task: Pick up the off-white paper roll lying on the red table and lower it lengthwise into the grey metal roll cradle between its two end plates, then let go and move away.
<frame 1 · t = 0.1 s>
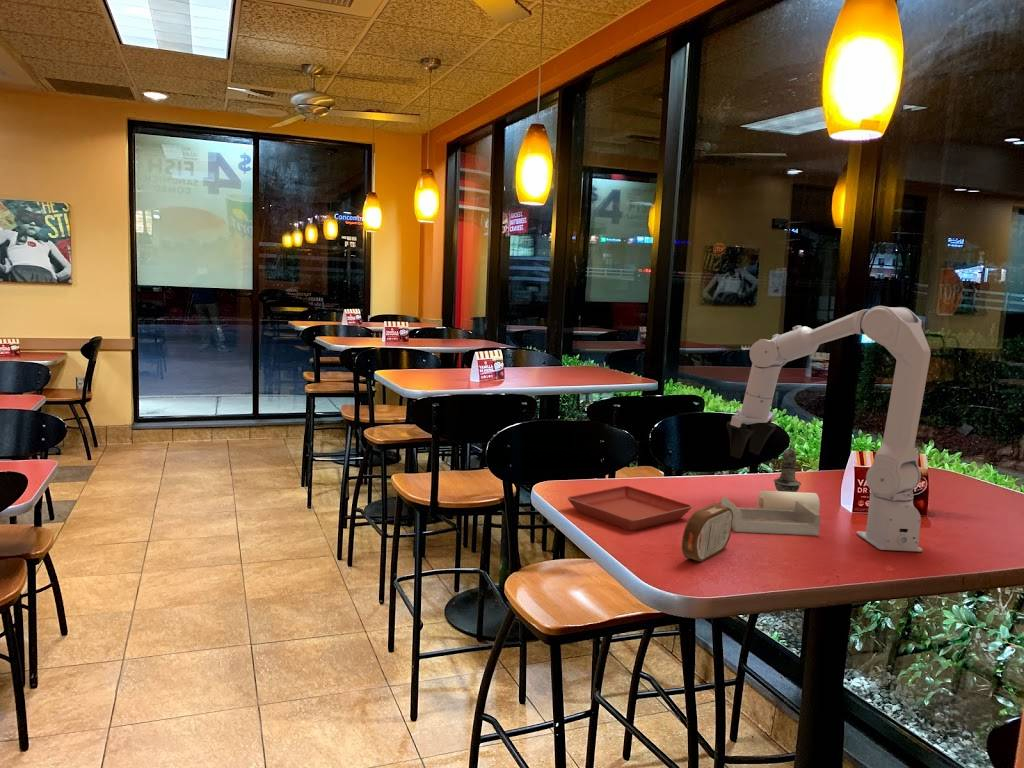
hand: (744, 454, 166), 10 cm above the table, tool pointing down, fingers open, 7 cm apart
cradle: (767, 525, 151), on the table
plant saucer: (628, 518, 153), on the table
tin: (706, 556, 132), on the table
rusty metal finial: (785, 498, 174), on the table
roll: (787, 515, 159), on the table
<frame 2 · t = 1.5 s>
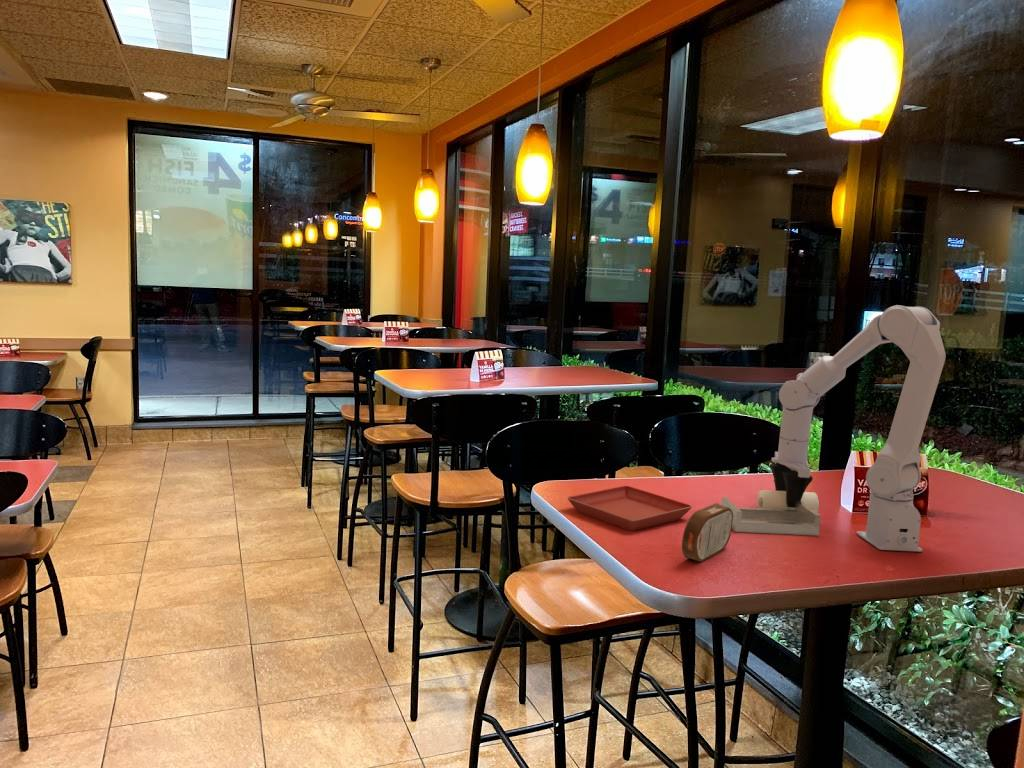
hand: (787, 502, 159), 2 cm above the table, tool pointing down, fingers open, 5 cm apart
roll: (787, 515, 159), on the table, tilted 11°
everything else where it was.
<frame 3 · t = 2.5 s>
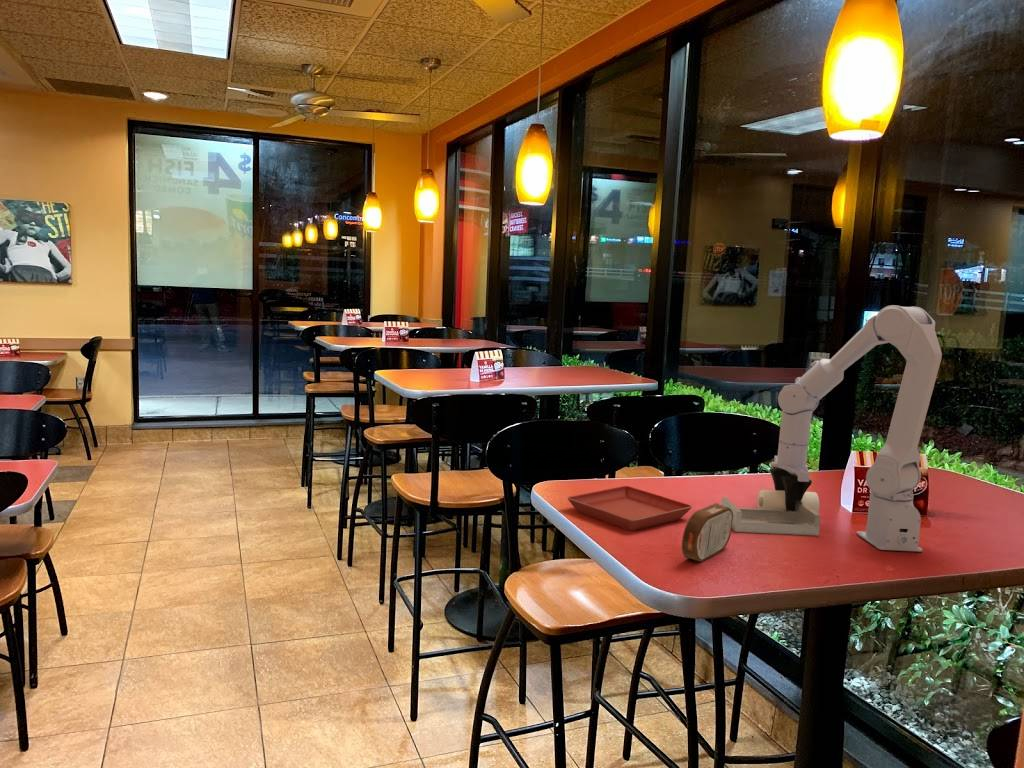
hand: (786, 506, 159), 2 cm above the table, tool pointing down, fingers closed on roll, 5 cm apart
roll: (787, 515, 159), on the table, tilted 9°, touching gripper
everything else where it was.
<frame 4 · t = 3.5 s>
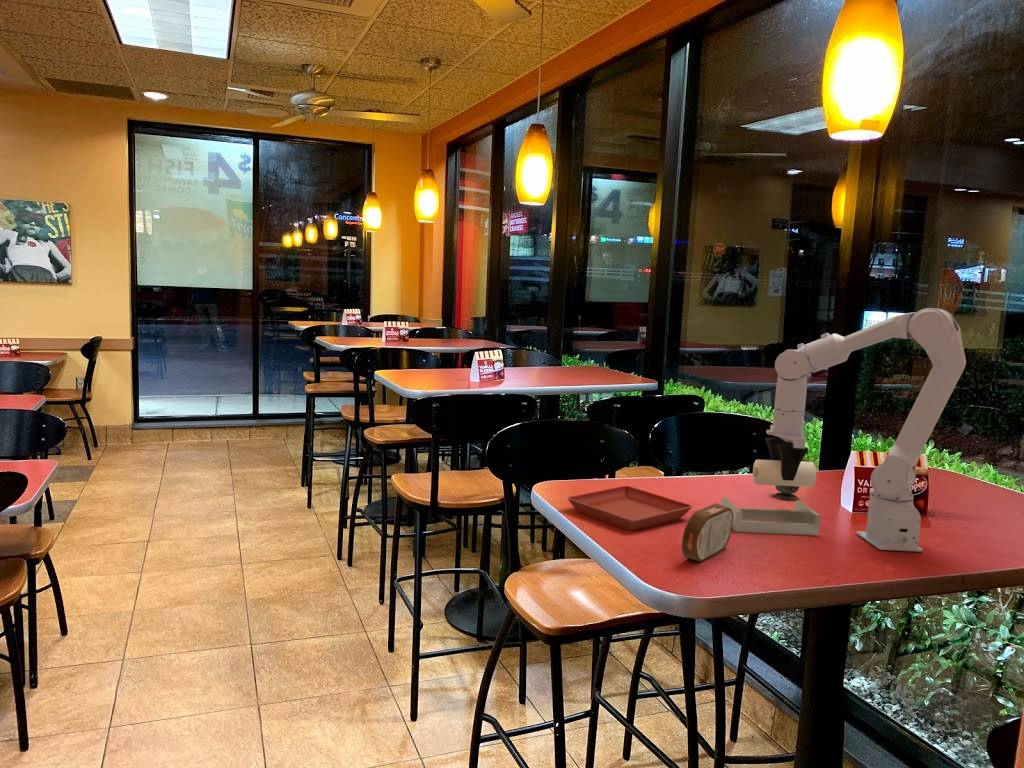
hand: (783, 476, 154), 9 cm above the table, tool pointing down, fingers closed on roll, 5 cm apart
roll: (783, 485, 154), point 7 cm above the table, tilted 7°, touching gripper
everything else where it was.
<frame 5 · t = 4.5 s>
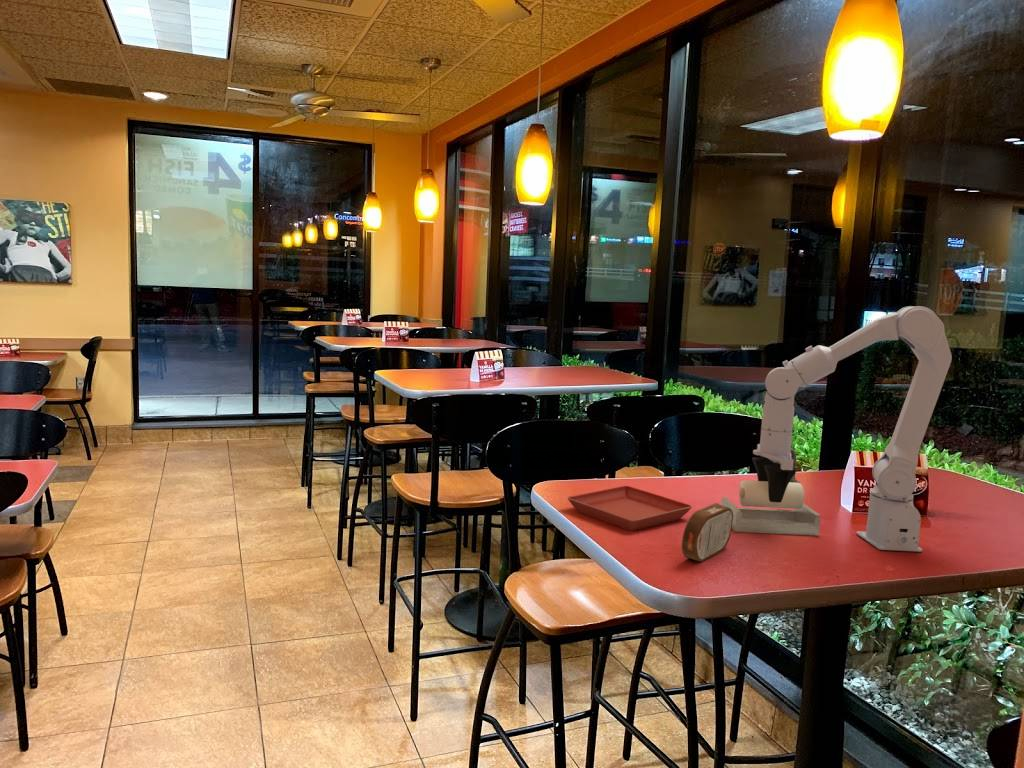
hand: (770, 497, 150), 6 cm above the table, tool pointing down, fingers closed on roll, 5 cm apart
roll: (770, 507, 150), point 4 cm above the table, tilted 7°, touching gripper
everything else where it was.
when the fingers open (4 cm above the table, at t = 5.3 s): roll drops 2 cm, resting on cradle.
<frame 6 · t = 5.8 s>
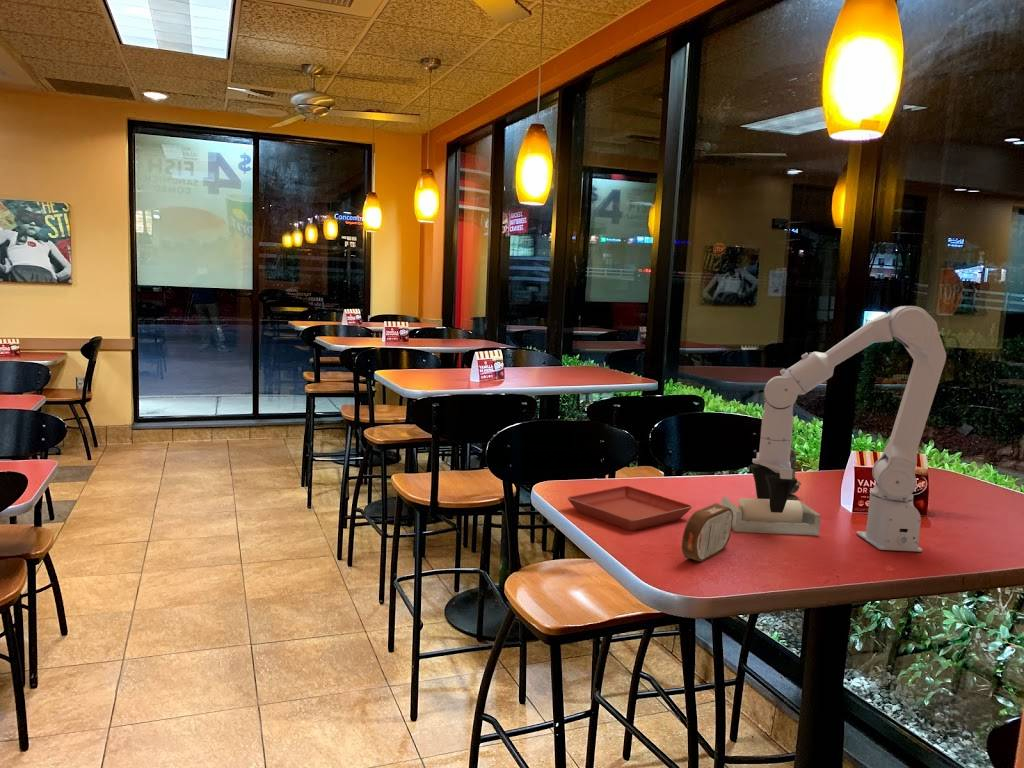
hand: (769, 506, 150), 4 cm above the table, tool pointing down, fingers open, 7 cm apart
roll: (769, 524, 150), resting on cradle, tilted 7°
everything else where it was.
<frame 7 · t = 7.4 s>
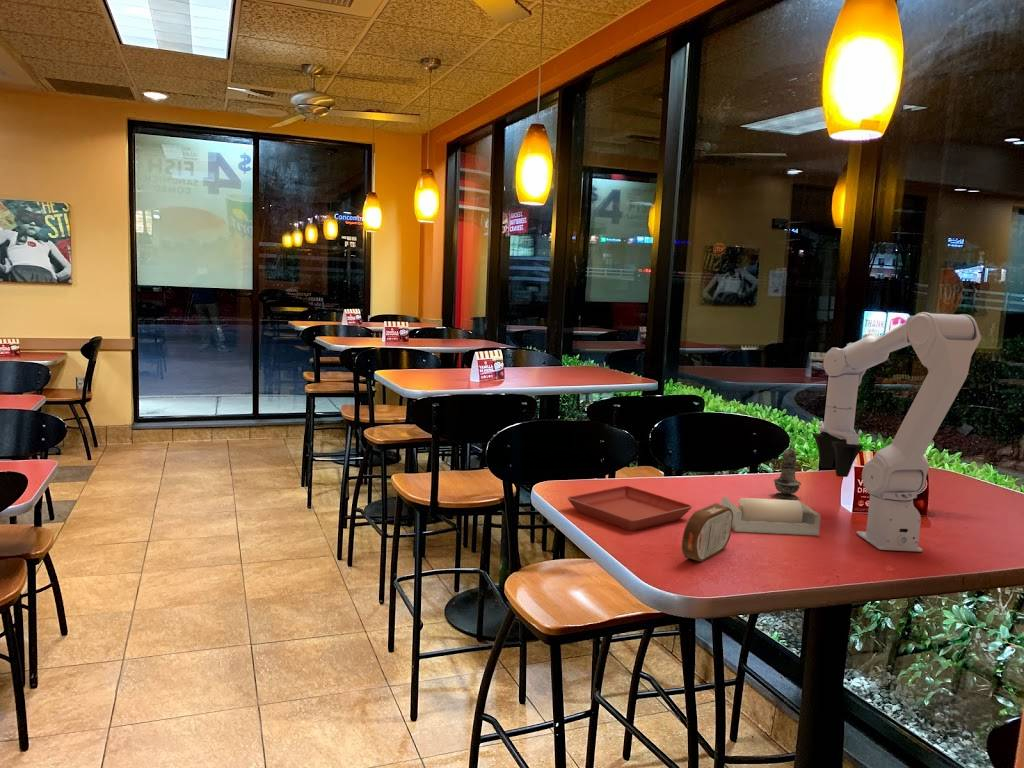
hand: (833, 471, 159), 9 cm above the table, tool pointing down, fingers open, 7 cm apart
nothing on the table moved.
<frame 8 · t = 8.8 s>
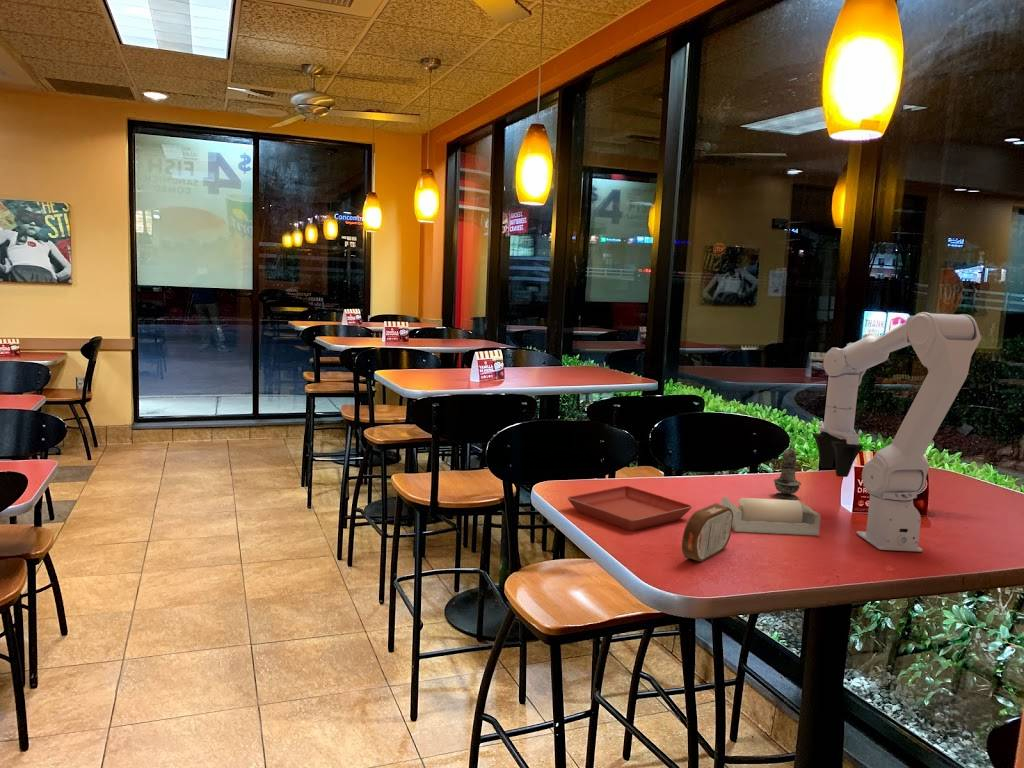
hand: (833, 471, 159), 9 cm above the table, tool pointing down, fingers open, 7 cm apart
nothing on the table moved.
at the end: roll inside the target area on the cradle (0.3 cm from its centre), point 0.3 cm above the cradle's base; the gripper is holding nothing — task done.
